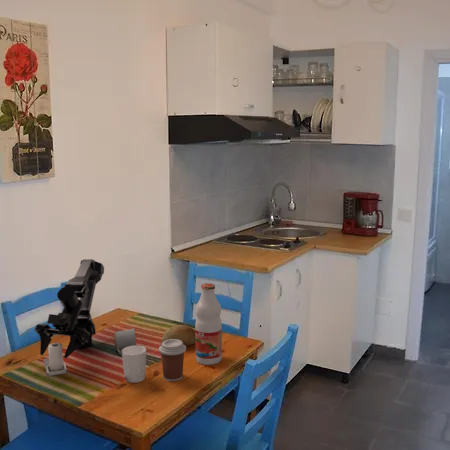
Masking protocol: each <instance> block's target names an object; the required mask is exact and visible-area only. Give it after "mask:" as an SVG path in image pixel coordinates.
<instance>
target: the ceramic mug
mask: <svg viewBox="0 0 450 450" xmlns="http://www.w3.org/2000/svg"><path fill="white" fill-rule="evenodd" d="M113 340H114V341H113V343H114V349H115V351H117V353H118V354H119V355H120V356H122V350H123V349H124V348H126V347H129V346H137V337H136V329H135V328H131V329H126V330H125V329H124V330H119V331H115V332H113Z"/></svg>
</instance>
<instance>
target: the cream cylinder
mask: <svg viewBox="0 0 450 450" xmlns="http://www.w3.org/2000/svg"><path fill="white" fill-rule="evenodd" d="M47 350H48V351H47V352H48V359H49V370H50V372H54V371H60V370H63V360H64V358H62V357H63V344H62V343H61V342H53V343H50V344H49V345H48V347H47Z"/></svg>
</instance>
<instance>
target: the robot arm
mask: <svg viewBox="0 0 450 450" xmlns="http://www.w3.org/2000/svg"><path fill="white" fill-rule="evenodd" d="M104 273H105V266H104V265H103V263H102V262H99V261H96V260H95V259H93V258H91V259H89V258H88V259H81V260H80V265H79V267H78V269H77V271H76V273H75V275H74V277H72V278H70V279H69V280H68V281H67V282H66V283H65V284H64V286H63V287H62V288H60V289H59V290H58V291H57V295H56V296H57V298H58V300H59V303H60V304H61V306H62V308H63V309H62V311H61V312H58V314H53V313H49V314H48V318H47V323H46V324H45V323H38V324H36V326H35V328H34V332H36V334H37V335H38V336H39V338H40V348H39V349H40V351H39V352H40V353H39V354H40V355H41V356H43V355H44V354H45V352H46V351H47V350H48V345H50V344H51V342H52V339H53V338H52V337H54V336H53V335H57V336H65V337H69V343H68V344H67V347H66V349H65V352H64V358H63V359H68V358H69V357H70V356H71V354H73V352H74V351H75V350H77V349H78V350H84V349H85V350H86V349H88V348H89V349H90V347H93V336H94V335H96V334H97V333H96V332H97V331H96V324H95V323H94V320H93V318H92V314H91V308H92V304H93V300H94V295H95V289H96V287H97V286H96V285H97V284H99V282H100V281H101V280H102V279H103V278H102V277H103V275H104ZM49 324H51V325H52V327H53V328H52V327H51V326H50V325H49Z"/></svg>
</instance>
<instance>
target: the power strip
mask: <svg viewBox="0 0 450 450" xmlns="http://www.w3.org/2000/svg"><path fill="white" fill-rule="evenodd" d="M62 358H63V356H62ZM43 365H44V369H45V372H46V377H53V376H58V375H64V374H68V369H67V367H66V363H65V361H64V358H63V370H60V371H54V372H50V370H49V358H43Z"/></svg>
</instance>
